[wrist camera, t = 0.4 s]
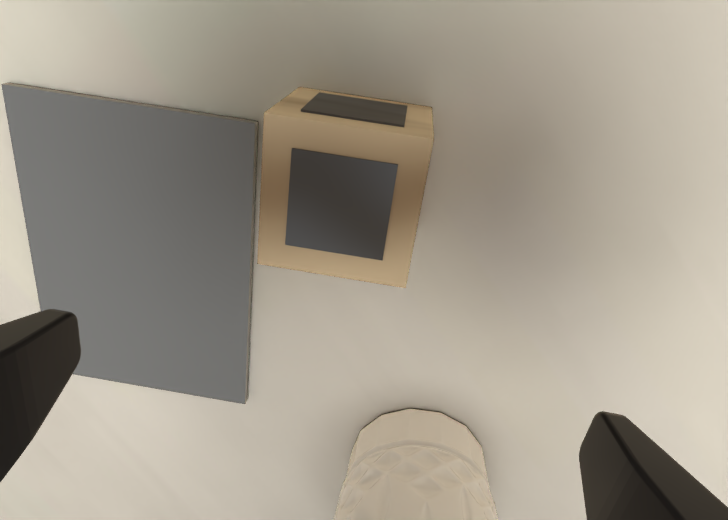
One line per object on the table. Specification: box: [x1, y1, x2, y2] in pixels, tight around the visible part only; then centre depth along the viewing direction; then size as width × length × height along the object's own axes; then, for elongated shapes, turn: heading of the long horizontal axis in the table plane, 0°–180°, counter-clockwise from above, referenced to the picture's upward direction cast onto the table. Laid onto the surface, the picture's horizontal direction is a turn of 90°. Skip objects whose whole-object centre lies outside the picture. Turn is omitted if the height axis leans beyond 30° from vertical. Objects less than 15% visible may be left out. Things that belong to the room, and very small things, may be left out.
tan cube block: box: [257, 87, 434, 288], centre depth 19 cm, size 5×5×5 cm
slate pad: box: [2, 83, 258, 404], centre depth 24 cm, size 14×10×1 cm
